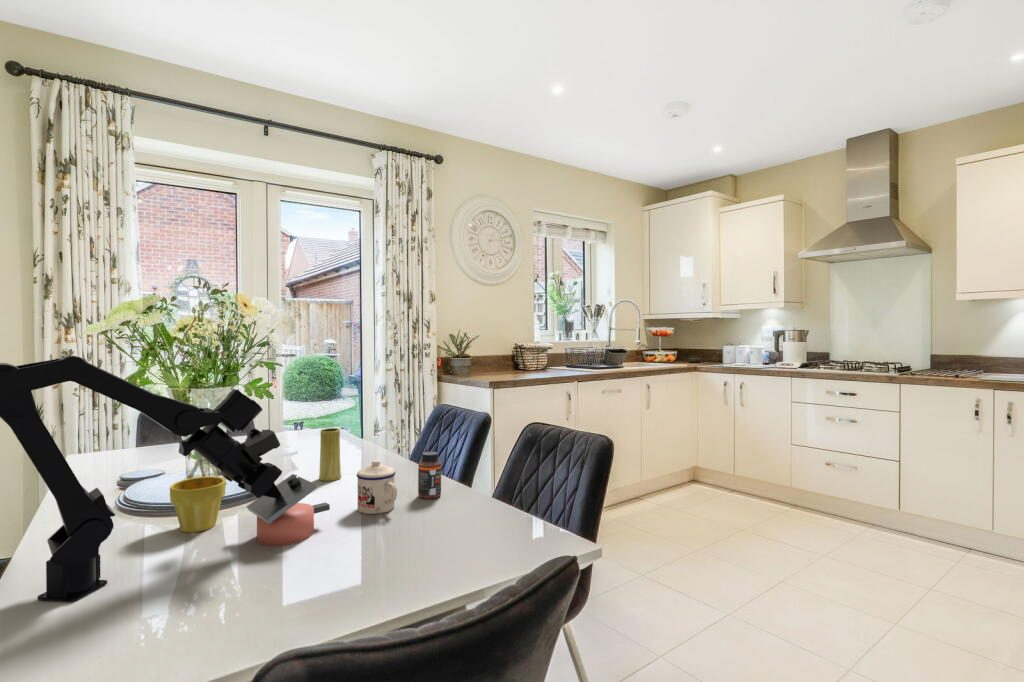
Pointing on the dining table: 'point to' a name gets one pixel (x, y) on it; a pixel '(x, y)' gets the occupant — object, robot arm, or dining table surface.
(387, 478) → the teacup with lid
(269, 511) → the lid
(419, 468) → the supplement bottle
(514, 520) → the dining table surface
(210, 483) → the plant pot
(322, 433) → the vase
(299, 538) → the cooker pot
